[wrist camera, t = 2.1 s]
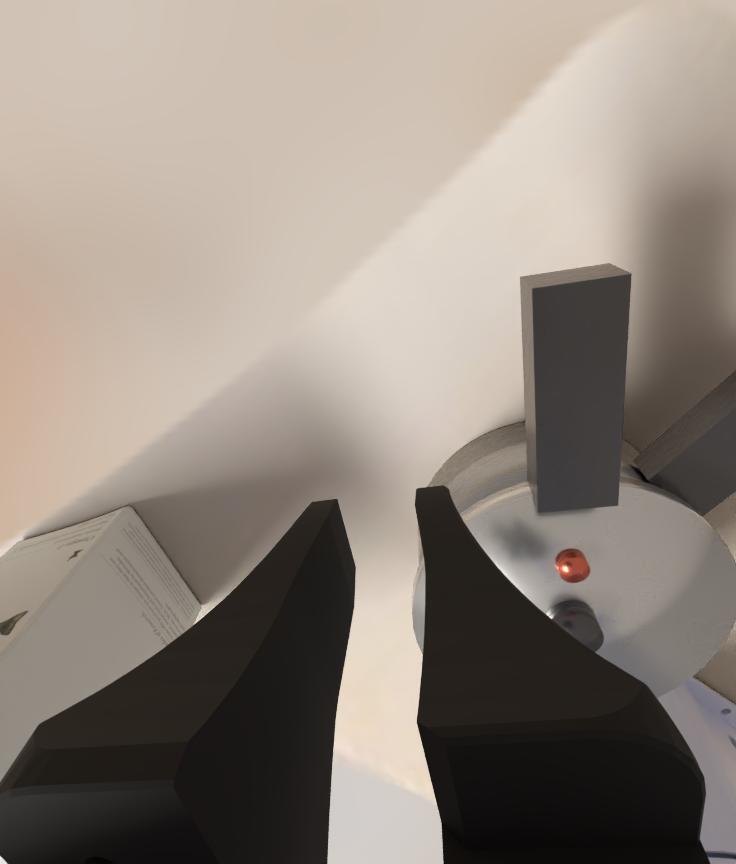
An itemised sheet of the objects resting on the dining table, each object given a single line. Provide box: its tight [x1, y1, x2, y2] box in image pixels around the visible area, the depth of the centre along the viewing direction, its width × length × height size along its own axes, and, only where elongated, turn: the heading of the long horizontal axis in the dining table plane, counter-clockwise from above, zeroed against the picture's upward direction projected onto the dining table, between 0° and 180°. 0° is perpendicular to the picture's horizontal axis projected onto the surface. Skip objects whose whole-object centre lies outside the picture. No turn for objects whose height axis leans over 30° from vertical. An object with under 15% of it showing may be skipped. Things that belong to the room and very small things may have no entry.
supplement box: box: [0, 506, 201, 864], centre depth 22 cm, size 7×7×13 cm
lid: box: [412, 263, 736, 698], centre depth 18 cm, size 18×12×2 cm, turn 10°
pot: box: [418, 371, 736, 565], centre depth 21 cm, size 11×18×4 cm, turn 144°
